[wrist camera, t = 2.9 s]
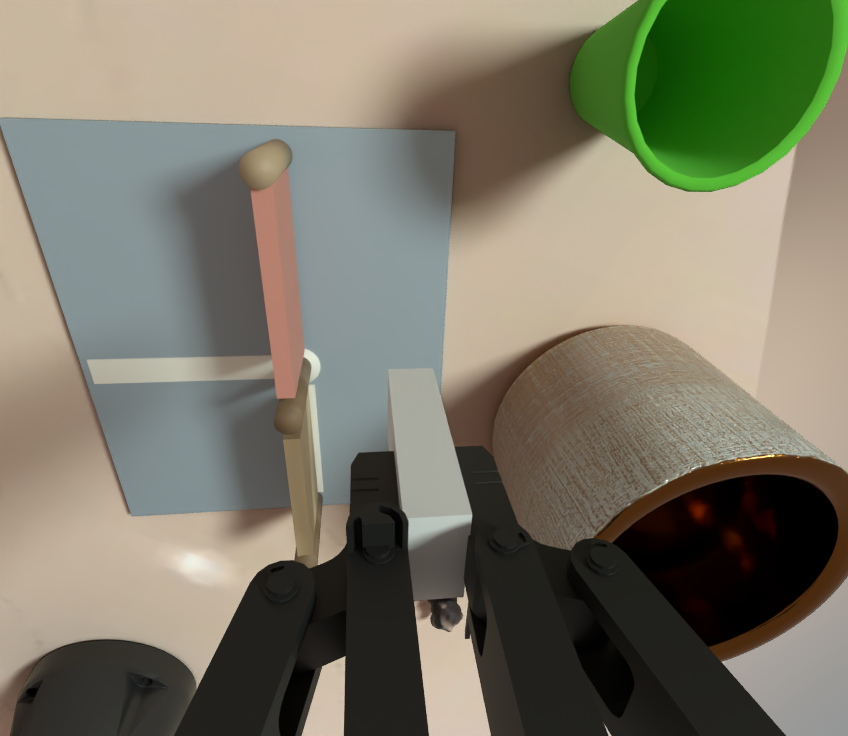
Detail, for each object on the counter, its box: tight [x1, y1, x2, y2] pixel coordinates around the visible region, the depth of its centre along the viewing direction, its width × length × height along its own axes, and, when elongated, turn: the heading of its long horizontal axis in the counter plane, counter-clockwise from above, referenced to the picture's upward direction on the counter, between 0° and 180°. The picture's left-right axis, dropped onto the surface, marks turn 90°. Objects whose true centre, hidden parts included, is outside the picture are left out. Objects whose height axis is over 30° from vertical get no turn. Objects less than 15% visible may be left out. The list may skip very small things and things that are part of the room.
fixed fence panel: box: [274, 357, 323, 568], centre depth 35 cm, size 2×14×8 cm, turn 178°
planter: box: [492, 325, 848, 662], centre depth 34 cm, size 18×18×16 cm
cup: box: [570, 0, 848, 192], centre depth 24 cm, size 9×9×11 cm
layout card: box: [0, 117, 456, 516], centre depth 34 cm, size 24×28×1 cm
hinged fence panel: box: [239, 139, 305, 399], centre depth 28 cm, size 13×2×6 cm, turn 178°
